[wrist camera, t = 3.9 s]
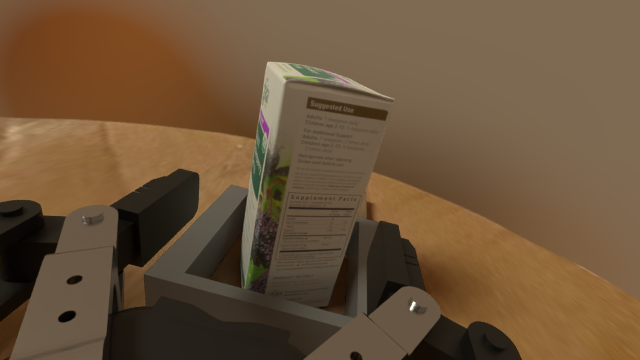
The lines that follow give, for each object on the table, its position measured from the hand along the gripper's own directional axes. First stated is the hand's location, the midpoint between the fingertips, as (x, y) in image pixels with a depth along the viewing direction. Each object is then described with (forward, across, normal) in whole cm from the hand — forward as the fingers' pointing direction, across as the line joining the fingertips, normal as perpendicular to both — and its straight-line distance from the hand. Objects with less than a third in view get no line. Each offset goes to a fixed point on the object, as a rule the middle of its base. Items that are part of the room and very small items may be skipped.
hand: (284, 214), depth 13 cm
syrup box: (+5, 0, +9) cm, 11 cm away
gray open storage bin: (+5, 0, +9) cm, 10 cm away
